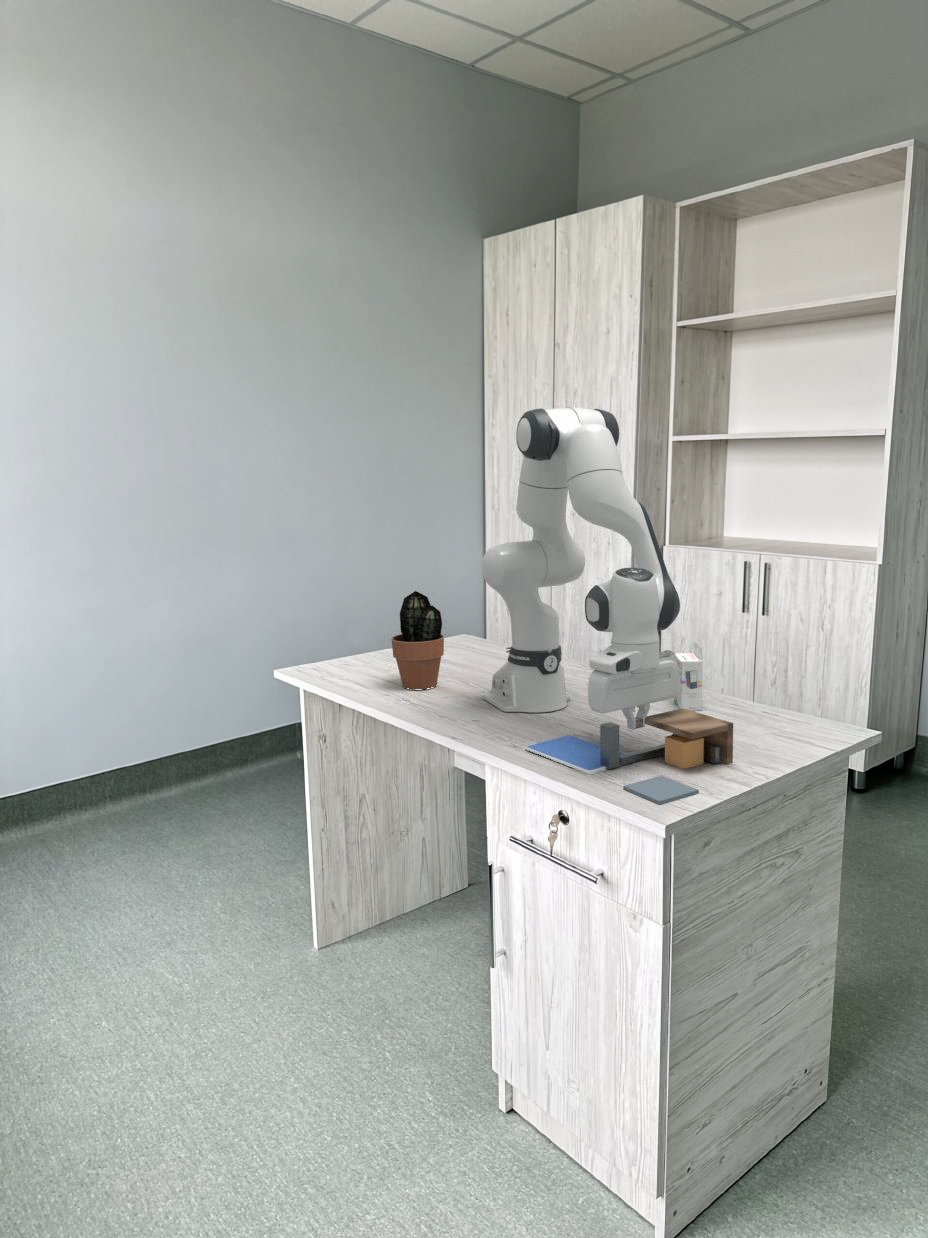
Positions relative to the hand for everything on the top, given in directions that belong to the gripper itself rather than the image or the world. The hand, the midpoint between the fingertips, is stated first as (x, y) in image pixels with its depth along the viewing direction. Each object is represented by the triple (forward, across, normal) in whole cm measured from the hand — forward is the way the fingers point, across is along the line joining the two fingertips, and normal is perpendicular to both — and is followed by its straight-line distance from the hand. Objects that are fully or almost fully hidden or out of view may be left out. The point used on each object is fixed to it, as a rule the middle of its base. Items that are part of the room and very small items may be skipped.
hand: (636, 727), depth 170 cm
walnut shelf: (+7, -9, +5) cm, 12 cm away
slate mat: (+7, +7, +14) cm, 17 cm away
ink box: (+6, -36, -22) cm, 43 cm away
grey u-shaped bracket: (+6, -2, +4) cm, 8 cm away
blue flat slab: (+7, +6, -10) cm, 14 cm away
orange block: (+7, -7, +6) cm, 11 cm away
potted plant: (+6, +4, -78) cm, 79 cm away
